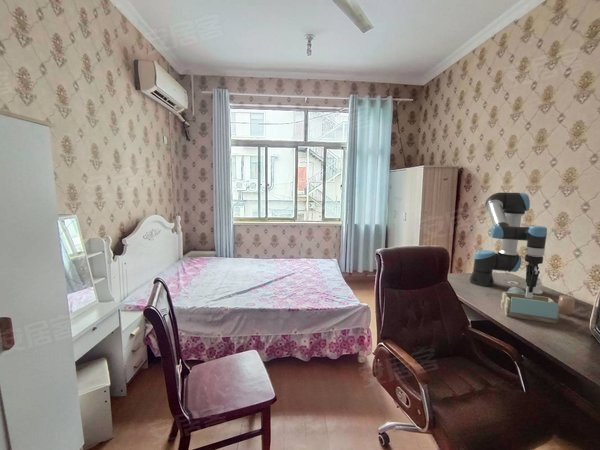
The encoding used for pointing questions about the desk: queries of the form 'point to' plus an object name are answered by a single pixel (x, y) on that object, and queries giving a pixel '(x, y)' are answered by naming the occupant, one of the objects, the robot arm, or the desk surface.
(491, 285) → the robot arm
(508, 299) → the crate
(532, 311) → the cabinet door
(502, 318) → the desk surface
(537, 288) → the figurine
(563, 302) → the brown egg
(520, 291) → the spool
